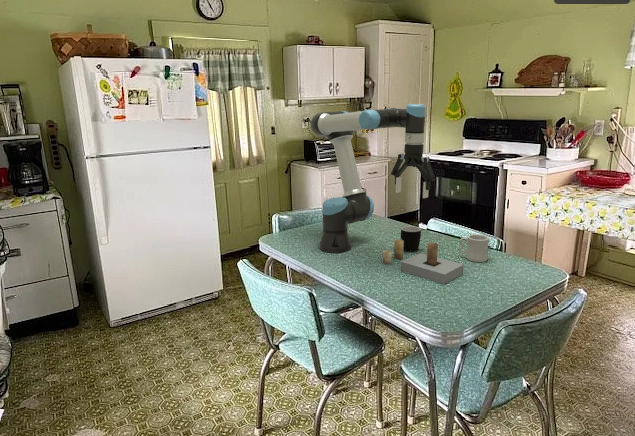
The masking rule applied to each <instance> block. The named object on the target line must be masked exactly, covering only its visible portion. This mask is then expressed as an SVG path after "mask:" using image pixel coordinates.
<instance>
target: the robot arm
mask: <svg viewBox="0 0 635 436" xmlns="http://www.w3.org/2000/svg"><path fill="white" fill-rule="evenodd" d="M426 116H427V115H426V105H425V104H424V103H423V104H422V103H408V104H406V107H405V108H395V107H391V108H383V109H380V108H379V109H364V110H359V111H351V112H349V111H346V110H345V111H344V110H343V111H342V110H338V111H336V110H335V111H322V112H318V113H316V114H314V116H312V118H311V120H310V122H309V123H310V124H309V126H310V130H311V131H312V133H313V134H314V135H315V136H317V137H320V138H328V141H329V143H330V144H331V145H333V148H334V152H335V156H336V157H335V158H336V162H337V166H338V171H339V175H340V179H341V184H342V188H343V192H344V193H343V194H342V196H337V197H331V198H328V199H326V200H325V201H324V202H323V203H322V208H321V209H322V210H321V212H322V235H321V238H320V241H319V250H321V251H323V252H326V253H331V254H333V253H335V254H337V253H338V254H339V253H344V252H349V251H350V250H351V249H352V241H351V238H350V236H349V232H348V230H349V228H348V227H349V225H350V224H351V225H352V224H354V223H359V222H364V221H366V220H369V219H371V217H372V216H373V214H374V210H375V205H374V204H375V203H374V201H373V199H372V198H371V196H368V195H367V192H366V190H365V189H363V188H362V184H361V180H360V175H359V171H358V166H357V161H356V158H355V154H354V153H355V152H354V148H353V145H352V139H353V138H354V133H355V131H363V130H368V131H369V130H376V129H379V130H380V129H390V128H404V129H405V130H404V143H405V144H404V148H403V151H404V152H403V153H399V154H397V159H396V162H395V164H394V166H393V168H392V169H391V170H392V171H391V173H390V175H391V176H394V185H395V193H396V194H397V193H398V194H399V193H401V192H402V180H403V179H402V174H403V173H404V171H406V169H407V168H408V167H413V168H416V169H417V170H418V171H419V172H420V174H421V177H422V178H423V179H424V181H423V189H422V199H427V198H429V191H430V190H431V183H432V182H434V181H436V176H435V174H434V171H433V168H432V165H431V161H430V157H429V156H426V157H425V156H423V154H424V144H423V143H424V142H425V125H426V124H425V123H426ZM403 161H404V162H403Z"/></svg>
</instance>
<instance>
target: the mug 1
mask: <svg viewBox="0 0 635 436" xmlns="http://www.w3.org/2000/svg"><path fill="white" fill-rule="evenodd" d="M421 237H422V228H420V226H419V227H418V226H413V225H412V226H411V225H408V226H407V225H406V226H403V227H401V228H400V239H401V240H404V247H403V252H404V251H405V252H409V253H414V252H415V253H416V252H417V251H418V250H419V248H420V245H421Z"/></svg>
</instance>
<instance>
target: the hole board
mask: <svg viewBox="0 0 635 436" xmlns="http://www.w3.org/2000/svg"><path fill="white" fill-rule="evenodd" d="M464 268H465V267H464V264H462V263H459V262H454V261H451V260H448V259H443V258H440V257H437V266H435V267H433V266H430V265H427V254H425V253H422V252H420V253H418V254H415V255H414V256H411V257H409V258H406V259H404V260H402V261H401V262H400V272H404V273H405V274H409V275H413V276H416V277H419V278H422V279H426V280H428V281H431V282H432V281H433V282H435V283H438V284H442V285H445V284H448V283H449V282H451V281H453V280H455V279H457V278H458V277H461V276H463V275H464Z"/></svg>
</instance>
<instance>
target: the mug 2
mask: <svg viewBox="0 0 635 436" xmlns="http://www.w3.org/2000/svg"><path fill="white" fill-rule="evenodd" d="M466 237H467V238H466ZM466 237H461V238H460V239H459V240H458V241H459V244H460V245H461V246H459V247H458V251H459V253H460V254H462V255H464V254H465V258H466V259H467V260H468V261H470V262H475V263H485V262H487V261H488V260H489V243H490V237H489V236H488V235H485V234H480V233H479V234H477V233H475V234H474V233H473V234H469V235H467V236H466ZM463 240H464V241H465V242H467V246H466V247H467V248H466V250H464V251H463V250H462V249H463V248H464V247H465V245H464V243H463V242H462V241H463Z"/></svg>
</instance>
